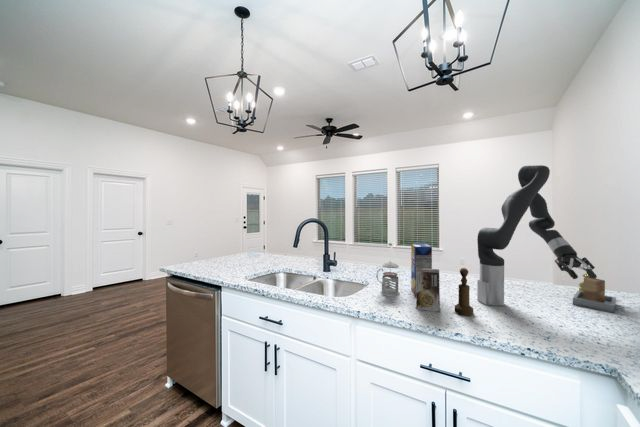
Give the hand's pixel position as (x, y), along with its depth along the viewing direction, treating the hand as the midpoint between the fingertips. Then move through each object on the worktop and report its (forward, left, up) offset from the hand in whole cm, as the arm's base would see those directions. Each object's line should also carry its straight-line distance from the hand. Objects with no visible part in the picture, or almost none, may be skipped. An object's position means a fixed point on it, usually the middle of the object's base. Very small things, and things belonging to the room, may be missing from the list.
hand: (585, 278), depth 118 cm
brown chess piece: (-62, -11, -11) cm, 64 cm away
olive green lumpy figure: (+13, +10, -11) cm, 20 cm away
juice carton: (-69, +14, -11) cm, 71 cm away
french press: (-85, +15, -11) cm, 87 cm away
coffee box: (-74, -5, -11) cm, 75 cm away
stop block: (0, -4, -9) cm, 10 cm away
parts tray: (0, -4, -10) cm, 11 cm away
